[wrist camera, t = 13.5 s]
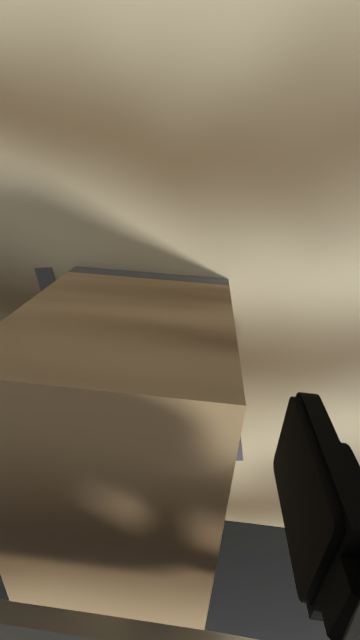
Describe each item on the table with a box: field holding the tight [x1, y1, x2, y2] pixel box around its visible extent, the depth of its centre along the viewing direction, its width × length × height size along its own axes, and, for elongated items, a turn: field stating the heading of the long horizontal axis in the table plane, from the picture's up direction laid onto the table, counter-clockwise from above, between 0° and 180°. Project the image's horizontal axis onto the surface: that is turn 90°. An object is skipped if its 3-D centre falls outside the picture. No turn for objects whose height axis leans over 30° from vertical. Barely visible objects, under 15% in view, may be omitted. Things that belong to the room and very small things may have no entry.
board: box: [0, 0, 360, 527], centre depth 12 cm, size 20×18×1 cm
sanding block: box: [0, 266, 246, 630], centre depth 9 cm, size 8×5×6 cm, turn 177°
